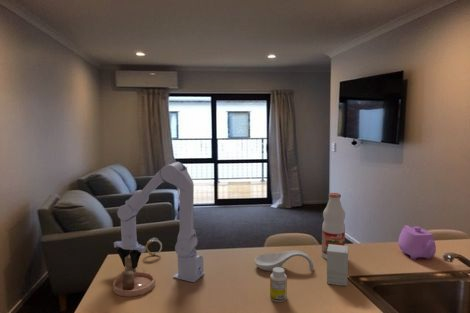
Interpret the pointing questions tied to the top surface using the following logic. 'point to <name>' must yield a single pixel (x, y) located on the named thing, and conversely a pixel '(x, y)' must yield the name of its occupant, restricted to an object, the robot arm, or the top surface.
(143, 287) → the dish
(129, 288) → the brown short cylinder
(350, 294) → the top surface
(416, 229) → the purple animal planter
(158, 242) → the ring
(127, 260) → the beige tall rounded piece
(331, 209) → the fruit juice
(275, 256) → the spoon rest
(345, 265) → the supplement box
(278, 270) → the supplement bottle
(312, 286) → the top surface
